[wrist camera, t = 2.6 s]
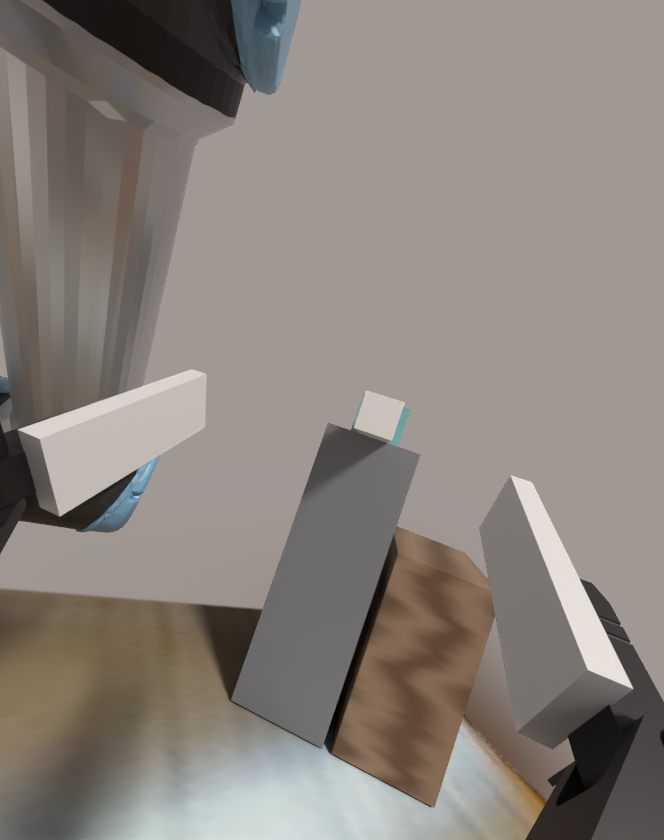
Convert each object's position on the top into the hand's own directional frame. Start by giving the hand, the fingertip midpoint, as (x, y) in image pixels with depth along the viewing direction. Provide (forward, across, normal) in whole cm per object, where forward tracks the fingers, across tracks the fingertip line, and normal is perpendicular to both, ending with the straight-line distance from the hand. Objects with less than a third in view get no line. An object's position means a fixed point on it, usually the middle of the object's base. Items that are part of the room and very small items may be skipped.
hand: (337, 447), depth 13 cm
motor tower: (+8, 0, -37) cm, 38 cm away
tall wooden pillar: (+8, +11, -38) cm, 40 cm away
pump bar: (+18, +1, -9) cm, 20 cm away
